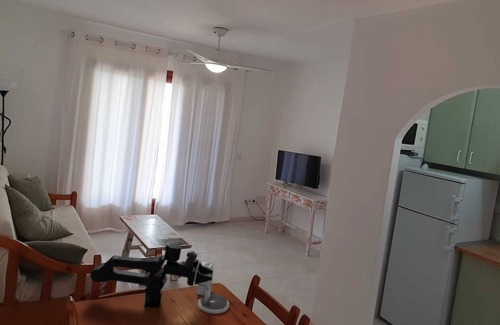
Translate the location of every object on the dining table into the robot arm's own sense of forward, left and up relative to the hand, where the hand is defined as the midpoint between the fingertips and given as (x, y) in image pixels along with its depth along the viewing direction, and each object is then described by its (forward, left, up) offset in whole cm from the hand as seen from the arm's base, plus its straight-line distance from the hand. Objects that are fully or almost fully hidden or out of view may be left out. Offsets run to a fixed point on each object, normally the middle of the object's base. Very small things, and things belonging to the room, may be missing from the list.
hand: (212, 275), depth 166 cm
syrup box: (-3, +15, -16) cm, 22 cm away
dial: (+2, +3, -14) cm, 15 cm away
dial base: (+2, +3, -16) cm, 16 cm away
